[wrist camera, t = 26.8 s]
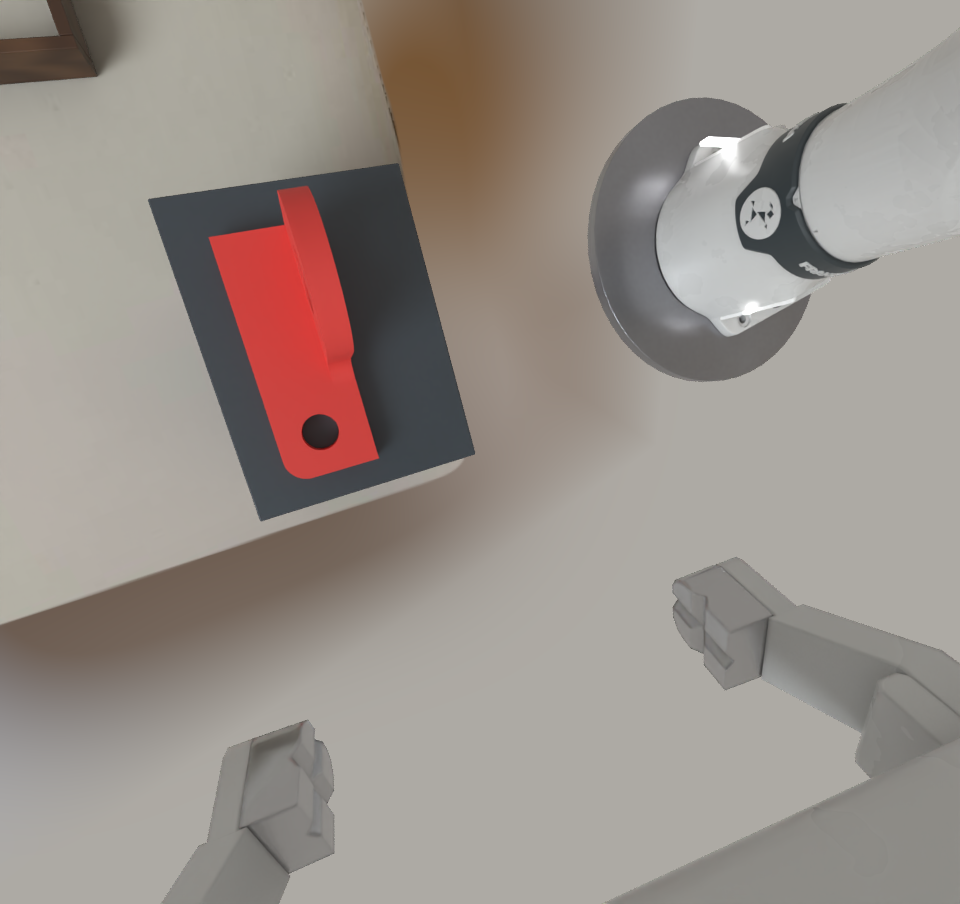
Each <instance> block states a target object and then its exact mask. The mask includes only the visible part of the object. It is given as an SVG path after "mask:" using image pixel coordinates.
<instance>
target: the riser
mask: <svg viewBox="0 0 960 904" xmlns="http://www.w3.org/2000/svg"><path fill="white" fill-rule="evenodd" d="M302 186H308V187H309V189H310V191H311V193H312V195H313V197H314V200H315V203H316V205H317V208H318V211H319V214H320V217H321V220H322V223H323V226H324V229H325V232H326V235H327V238H328V242H329V245H330V248H331V252H332V255H333V259H334V262H335V266H336V269H337V273H338V277H339V281H340V284H341V288H342V292H343V296H344V300H345V304H346V309H347V313H348V317H349V322H350V327H351V332H352V338H353V345H354V353H353V355H352V357H351V363H352V368H353V372H354V375H355V379H356V382H357V386H358V389H359V392H360V396H361V399H362V403H363V406H364V409H365V413H366V416H367V419H368V423H369V426H370V430H371V433H372V436H373V440H374V443H375V446H376V450H377V453H378V457H379V458H378V459H375V460H372V461H368V462H365V463H361V464H358V465H355V466H351V467H348V468H345V469H341V470H338V471H334V472H331V473H328V474H324V475H321V476H318V477H314V478H310V479H302V478H298V477H296V476H294V475H292V474H291V473H289V472H288V470H287V469H286V468H285V466H284V464H283V461H282V458H281V455H280V452H279V449H278V446H277V443H276V440H275V437H274V434H273V431H272V428H271V425H270V422H269V419H268V416H267V413H266V410H265V406H264V403H263V400H262V397H261V394H260V391H259V388H258V385H257V382H256V379H255V376H254V373H253V370H252V367H251V364H250V361H249V358H248V355H247V352H246V349H245V346H244V343H243V340H242V337H241V334H240V331H239V328H238V325H237V322H236V319H235V316H234V313H233V310H232V307H231V304H230V301H229V298H228V295H227V292H226V289H225V286H224V283H223V279H222V276H221V273H220V270H219V267H218V264H217V261H216V258H215V255H214V252H213V249H212V246H211V243H210V240H209V237H213V236H219V235H225V234H232V233H238V232H244V231H250V230H256V229H262V228H268V227H274V226H281V225H284V220H283V216H282V211H281V207H280V202H279V198H278V193H277V190H281V189H288V188H295V187H302ZM148 202H149V205H150V207H151V210H152V213H153V216H154V219H155V222H156V225H157V227H158V230H159V233H160V236H161V239H162V242H163V245H164V247H165V250H166V253H167V256H168V259H169V262H170V265H171V267H172V270H173V273H174V276H175V279H176V282H177V285H178V287H179V290H180V293H181V296H182V299H183V302H184V305H185V307H186V310H187V313H188V316H189V319H190V322H191V325H192V327H193V330H194V333H195V336H196V339H197V342H198V345H199V347H200V350H201V353H202V356H203V359H204V362H205V365H206V367H207V370H208V373H209V376H210V379H211V382H212V385H213V387H214V390H215V393H216V396H217V399H218V402H219V405H220V407H221V410H222V413H223V416H224V419H225V422H226V425H227V427H228V430H229V433H230V436H231V439H232V442H233V445H234V447H235V450H236V453H237V456H238V459H239V462H240V465H241V467H242V470H243V473H244V476H245V479H246V482H247V485H248V487H249V490H250V493H251V496H252V499H253V502H254V505H255V507H256V510H257V513H258V516H259V519H260V521H264V520H267V519H270V518H273V517H277V516H280V515H283V514H286V513H289V512H293V511H296V510H299V509H302V508H305V507H309V506H312V505H315V504H318V503H321V502H324V501H328V500H331V499H334V498H337V497H340V496H344V495H347V494H350V493H353V492H356V491H360V490H363V489H366V488H369V487H372V486H375V485H379V484H382V483H385V482H388V481H391V480H395V479H398V478H401V477H404V476H407V475H411V474H414V473H417V472H420V471H423V470H427V469H430V468H433V467H436V466H439V465H442V464H446V463H449V462H452V461H455V460H458V459H462V458H465V457H468V456H471V455H474V454H475V451H474V447H473V443H472V439H471V435H470V432H469V428H468V424H467V420H466V416H465V413H464V409H463V405H462V402H461V398H460V394H459V390H458V386H457V382H456V379H455V375H454V371H453V368H452V364H451V360H450V356H449V353H448V348H447V345H446V341H445V337H444V333H443V330H442V326H441V322H440V318H439V315H438V311H437V307H436V303H435V299H434V296H433V292H432V288H431V284H430V281H429V277H428V273H427V270H426V265H425V262H424V258H423V254H422V251H421V247H420V243H419V239H418V235H417V232H416V228H415V224H414V220H413V216H412V213H411V209H410V205H409V201H408V198H407V194H406V190H405V186H404V182H403V179H402V175H401V171H400V167H399V164H398V163H396V164H389V165H382V166H375V167H369V168H362V169H355V170H348V171H341V172H334V173H327V174H320V175H313V176H306V177H299V178H292V179H285V180H278V181H271V182H264V183H257V184H250V185H243V186H236V187H229V188H222V189H215V190H208V191H201V192H194V193H187V194H180V195H173V196H166V197H160V198H153V199H148ZM302 433H303V437H304V439H305V441H306V442H307V443H308V444H309V445H311V446H312V447H315V448H326V447H329V446H331V445H332V444H333V443H334V442H335V441H336V439H337V437H338V433H339V429H338V425H337V423H336V422H335V420H334V419H332V418H331V417H329V416H327V415H324V414H317V415H313V416H311V417H309V418H308V419H307V420H306V421H305V423H304V425H303V429H302Z"/></svg>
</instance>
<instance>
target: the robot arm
mask: <svg viewBox="0 0 960 904" xmlns="http://www.w3.org/2000/svg"><path fill="white" fill-rule="evenodd" d="M958 236H960V28H959V29H958V30H956V31H955V32H954V33H953V34H952V35H950V36H949V37H948V38H947V39H946V40H944V41H943V42H942V43H940V44H939V45H937V46H936V47H935V48H934V49H932V50H931V51H929V52H928V53H926V54H925V55H923V56H922V57H920V58H919V59H917V60H916V61H914V62H913V63H911V64H910V65H909V66H907V67H906V68H904V69H902V70H901V71H899V72H898V73H896V74H895V75H893V76H892V77H890V78H889V79H887V80H886V81H884V82H883V83H881V84H879V85H878V86H876V87H874V88H873V89H871V90H869V91H868V92H867V93H865V94H863V95H861V96H860V97H858V98H856V99H855V100H853V101H851V102H850V103H843V104H837V105H835V106H832V107H830V108H828V109H826V110H824V111H822V112H820V113H819V112H818V113H816V114H813V115H812V116H810V117H808V118H806V119H804V120H803V121H801V122H800V123H799V124H797V125H796V126H795V127H794V128H792V129H787V128H786V126H785V125H781V126H776V127H772V126H771V125H765V126H762V127H760V128H758V129H756V130H754V131H753V132H751V133H749V134H747V135H745V136H744V137H742V138H724V137H707V138H706V139H704V140H703V141H701V142H700V145H698V146H696V147H694V148H693V150H692V151H691V153H690V156H689V158H688V161H687V165H686V168H685V171H684V174H683V176H682V177H681V179H680V180H679V181H678V182H677V183H676V185H675V186H674V187H673V188H672V190H671V191H670V192H669V194H668V196H667V197H666V199H665V201H664V203H663V206H662V208H661V211H660V214H659V218H658V223H657V230H656V249H657V256H658V261H659V265H660V268H661V271H662V274H663V276H664V278H665V280H666V282H667V284H668V286H669V288H670V289H671V291H672V292H673V293H674V295H675V296H676V297H677V298H678V299H679V300H680V301H681V302H682V303H683V304H684V305H686V306H687V307H688V308H690V309H691V310H693V311H695V312H697V313H699V314H701V315H703V316H705V317H707V318H708V319H709V320H710V321H711V322H712V323H713V325H714V326H715V327H716V328H717V329H718V331H719V332H720V333H721V334H723V335H724V336H726V337H731V336H734V335H737V334H739V333H741V332H743V331H745V330H747V329H748V328H750V327H752V326H754V325H756V324H757V323H759V322H761V321H763V320H764V319H766V318H768V317H770V316H772V315H773V314H775V313H777V312H779V311H781V310H782V309H784V308H786V307H788V306H789V305H791V304H793V303H795V302H797V301H798V300H800V299H802V298H804V297H806V296H807V295H809V294H811V293H813V292H814V291H816V290H818V289H820V288H821V287H823V286H825V285H826V284H828V283H829V281H830V280H831V277H833V276H839V275H842V274H845V273H849V272H852V271H855V270H857V269H858V268H862V267H864V266H867V265H869V264H871V263H873V262H874V261H876V260H877V259H878V258H880V257H882V256H886V255H890V254H894V253H898V252H901V251H905V250H909V249H913V248H917V247H921V246H924V245H928V244H932V243H935V242H939V241H943V240H947V239H951V238H955V237H958ZM739 317H740V321H739ZM673 594H674V595H675V596H676V597H677V599H678V600H677V601H676V603H675V604H674V606H673V618H674V621H675V624H676V626H677V629H678V631H679V633H680V634H681V636H682V638H683V639H684V640H685V642H686V643H687V644H688V646H689V647H690V648H691V649H694V650H696V651H698V652H700V653H703V654H704V666H705V667H706V668H707V669H708V670H709V672H710V673H711V674H712V675H713V676H714V678H715V679H716V680H717V681H718V683H719V684H720V685H721V686H722V687H723V689H725V690H727V689H730V688H732V687H735V686H738V685H741V684H743V683H746V682H748V681H751V680H754V679H756V678H759V677H761V676H762V677H761V679H763V680H764V681H766V682H768V683H770V684H772V685H773V686H775V687H777V688H779V689H781V690H783V691H784V692H786V693H789V694H790V695H792V696H794V697H796V698H798V699H799V700H801V701H803V702H805V703H807V704H809V705H810V706H812V707H814V708H816V709H818V710H820V711H822V712H823V713H825V714H827V715H829V716H831V717H833V718H834V719H837V720H838V721H840V722H842V723H844V724H846V725H848V726H849V727H851V728H853V729H855V730H857V731H859V732H860V733H861V737H860V740H859V743H858V747H857V750H856V753H855V762H856V763H857V764H858V765H859V766H860V767H861V768H862V770H863V771H864V772H865V773H866V774H867V775H868V776H869V777H870V778H871V779H869V780H867V781H865V782H863V783H860V784H858V785H856V786H854V787H852V788H850V789H847V790H845V791H843V792H841V793H839V794H837V795H835V796H833V797H830V798H828V799H826V800H824V801H822V802H820V803H817V804H815V805H813V806H811V807H809V808H807V809H804V810H802V811H800V812H798V813H796V814H794V815H792V816H789V817H788V818H785V819H783V820H781V821H779V822H777V823H774V824H772V825H770V826H768V827H766V828H764V829H762V830H759V831H758V832H755V833H753V834H751V835H749V836H746V837H744V838H742V839H740V840H738V841H736V842H734V843H732V844H729V845H728V846H725V847H723V848H721V849H719V850H716V851H715V852H712V853H710V854H708V855H706V856H704V857H701V858H699V859H697V860H695V861H693V862H691V863H688V864H686V865H684V866H682V867H680V868H678V869H676V870H674V871H671V872H669V873H667V874H665V875H663V876H661V877H658V878H656V879H654V880H652V881H650V882H648V883H646V884H643V885H641V886H639V887H637V888H635V889H633V890H631V891H629V892H626V893H624V894H622V895H620V896H618V897H615V898H613V899H611V900H609V901H607V902H605V903H603V904H960V663H958V662H957V661H956V660H954V659H953V658H952V657H950V656H949V655H947V654H946V653H945V652H943V651H942V650H939V649H936V648H933V647H930V646H927V645H924V644H921V643H918V642H915V641H911V640H908V639H905V638H903V637H900V636H897V635H894V634H891V633H888V632H885V631H882V630H879V629H876V628H873V627H870V626H867V625H864V624H860V623H858V622H855V621H852V620H849V619H846V618H843V617H840V616H837V615H834V614H831V613H828V612H825V611H822V610H819V609H815V608H813V607H810V606H806V605H800V606H796V605H795V604H794V603H792V602H791V601H790V600H789V599H788V598H786V597H785V596H784V595H783V594H782V593H781V592H779V591H778V590H777V589H776V588H775V587H774V586H772V585H771V584H770V583H769V582H768V581H767V580H765V579H764V578H763V577H762V576H761V575H760V574H758V573H757V572H756V571H755V570H754V569H752V568H751V567H750V566H749V565H748V564H747V563H745V562H744V561H743V560H742V559H740V558H737V557H735V558H732V559H729V560H727V561H724V562H721V563H719V564H716V565H712V566H710V567H707V568H704V569H702V570H699V571H697V572H694V573H692V574H689V575H687V576H684V577H681V578H679V579H677V580H675V581H674V583H673ZM314 734H315V729H314V727H313V726H312V725H311V723H310V722H309V720H305V721H302V722H299V723H296V724H294V725H291V726H288V727H285V728H282V729H279V730H277V731H273V732H270V733H268V734H265V735H262V736H259V737H256V738H253V739H251V740H248V741H245V742H242V743H240V744H237V745H234V746H232V747H229V748H228V749H227V751H226V753H225V755H224V757H223V760H222V766H221V771H220V776H219V781H218V786H217V792H216V798H215V803H214V807H213V813H212V818H211V823H210V829H209V834H208V839H207V843H205V844H202V845H200V846H198V848H197V849H196V851H195V852H194V854H193V855H192V857H191V858H190V860H189V862H188V863H187V865H186V866H185V868H184V869H183V871H182V872H181V874H180V875H179V877H178V878H177V880H176V881H175V883H174V885H173V886H172V888H171V889H170V891H169V892H168V894H167V895H166V897H165V898H164V900H163V901H162V903H161V904H279V902H280V900H281V897H282V895H283V893H284V890H285V888H286V886H287V883H288V881H289V878H290V875H289V873H292V872H294V871H296V870H298V869H300V868H303V867H305V866H307V865H309V864H311V863H314V862H316V861H318V860H321V859H323V858H325V857H327V856H330V855H331V854H334V814H333V812H332V811H331V809H330V808H329V807H328V805H327V803H328V801H329V799H330V797H331V795H332V793H333V791H334V777H333V769H332V764H331V759H330V756H329V753H328V750H327V748H326V746H325V745H324V743H323V742H322V741H319V740H315V739H314Z"/></svg>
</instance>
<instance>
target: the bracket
mask: <svg viewBox="0 0 960 904" xmlns="http://www.w3.org/2000/svg"><path fill="white" fill-rule="evenodd" d="M277 193H278V198H279V202H280V207H281V211H282V216H283V220H284V225H281V226H274V227H268V228H262V229H256V230H250V231H244V232H238V233H232V234H225V235H219V236H213V237H209V240H210V243H211V246H212V249H213V252H214V255H215V258H216V261H217V264H218V267H219V270H220V273H221V276H222V279H223V283H224V286H225V289H226V292H227V295H228V298H229V301H230V304H231V307H232V310H233V313H234V316H235V319H236V322H237V325H238V328H239V331H240V334H241V337H242V340H243V343H244V346H245V349H246V352H247V355H248V358H249V361H250V364H251V367H252V370H253V373H254V376H255V379H256V382H257V385H258V388H259V391H260V394H261V397H262V400H263V403H264V406H265V410H266V413H267V416H268V419H269V422H270V425H271V428H272V431H273V434H274V437H275V440H276V443H277V446H278V449H279V452H280V455H281V458H282V461H283V464H284V466H285V468H286V469H287V470H288V472H289V473H291V474H292V475H294V476H296V477H298V478H302V479H310V478H314V477H318V476H321V475H324V474H328V473H331V472H334V471H338V470H341V469H345V468H348V467H351V466H355V465H358V464H361V463H365V462H368V461H372V460H375V459H378V458H379V457H378V453H377V450H376V446H375V443H374V440H373V436H372V433H371V430H370V426H369V423H368V419H367V416H366V413H365V409H364V406H363V403H362V399H361V396H360V392H359V389H358V386H357V382H356V379H355V375H354V372H353V368H352V363H351V357H352V355H353V353H354V345H353V338H352V332H351V327H350V322H349V317H348V313H347V309H346V304H345V300H344V296H343V292H342V288H341V284H340V281H339V277H338V273H337V269H336V266H335V262H334V259H333V255H332V252H331V248H330V245H329V242H328V238H327V235H326V232H325V229H324V226H323V223H322V220H321V217H320V214H319V211H318V208H317V205H316V203H315V200H314V197H313V195H312V193H311V191H310V189H309V187H308V186H302V187H295V188H288V189H281V190H277ZM317 414H324V415H327V416H329V417H331V418H332V419H334V420H335V422H336V423H337V425H338V429H339V433H338V437H337V439H336V441H335V442H334V443H333V444H332V445H331V446H329V447H326V448H315V447H312V446H311V445H309V444H308V443H307V442H306V441H305V439H304V437H303V433H302V429H303V425H304V423H305V421H306V420H307V419H308V418H309V417H311V416H313V415H317Z"/></svg>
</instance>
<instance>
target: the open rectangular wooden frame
mask: <svg viewBox="0 0 960 904" xmlns="http://www.w3.org/2000/svg"><path fill="white" fill-rule="evenodd" d="M47 3H48V6H49V8H50V11H51V14H52V17H53V19H54V22H55V25H56V28H57V31H58V33H59V35H60V36H49V37H33V38H17V39H2V40H0V85H1V84H13V83H25V82H37V81H49V80H61V79H73V78H85V77H97V73H96V70H95V68H94V65H93V62H92V59H91V56H90V53H89V51H88V48H87V45H86V42H85V39H84V36H83V33H82V31H81V28H80V25H79V22H78V19H77V16H76V14H75V11H74V8H73V5H72V2H71V0H47Z"/></svg>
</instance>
